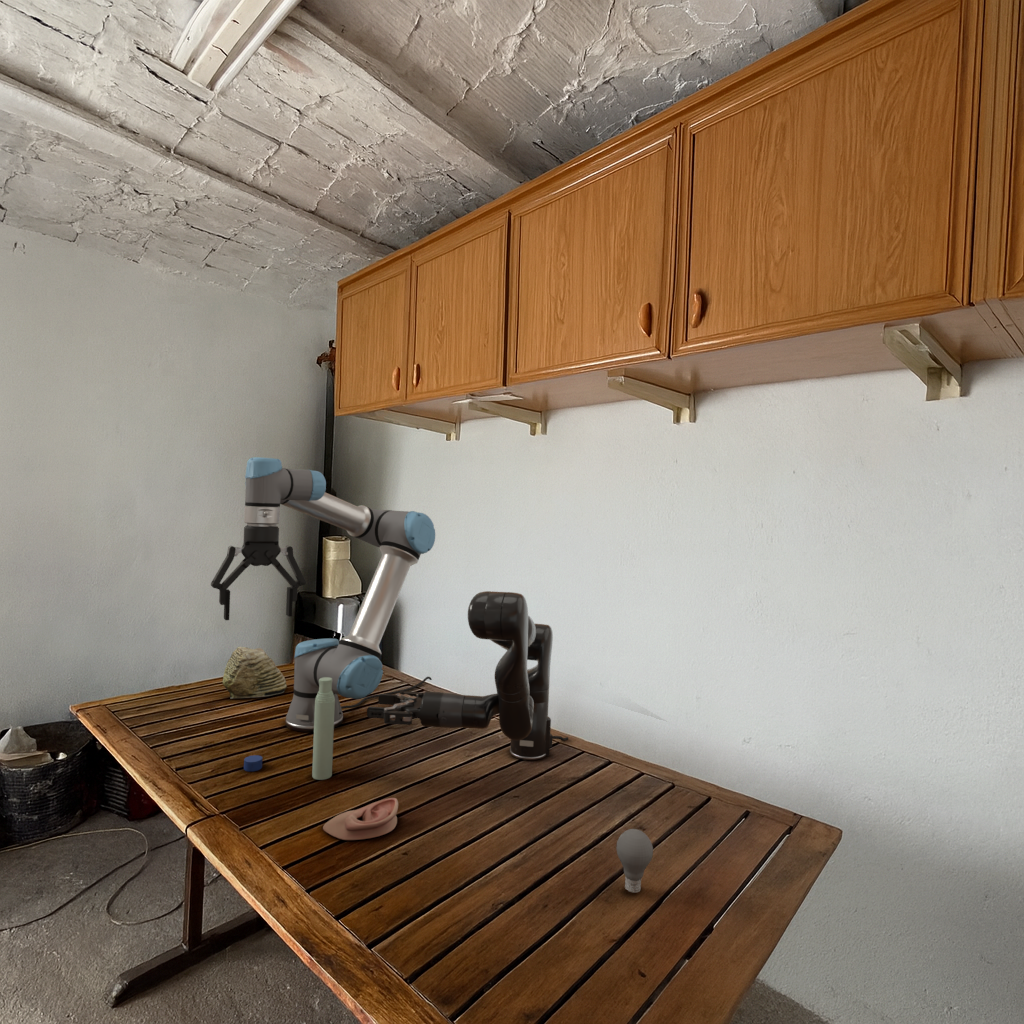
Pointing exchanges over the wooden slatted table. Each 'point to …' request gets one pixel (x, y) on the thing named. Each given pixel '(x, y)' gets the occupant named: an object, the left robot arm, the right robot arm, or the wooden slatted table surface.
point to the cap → (253, 763)
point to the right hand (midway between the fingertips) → (373, 705)
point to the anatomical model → (364, 821)
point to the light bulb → (634, 857)
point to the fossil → (252, 674)
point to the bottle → (323, 730)
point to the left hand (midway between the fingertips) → (258, 617)
